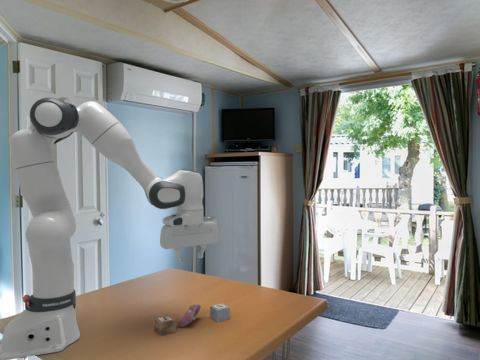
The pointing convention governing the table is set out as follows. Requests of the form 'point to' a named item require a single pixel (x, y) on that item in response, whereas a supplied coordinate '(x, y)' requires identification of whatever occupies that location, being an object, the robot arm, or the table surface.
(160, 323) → the walnut block
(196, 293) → the table surface
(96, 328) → the table surface
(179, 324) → the video game controller
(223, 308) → the slate grey block
